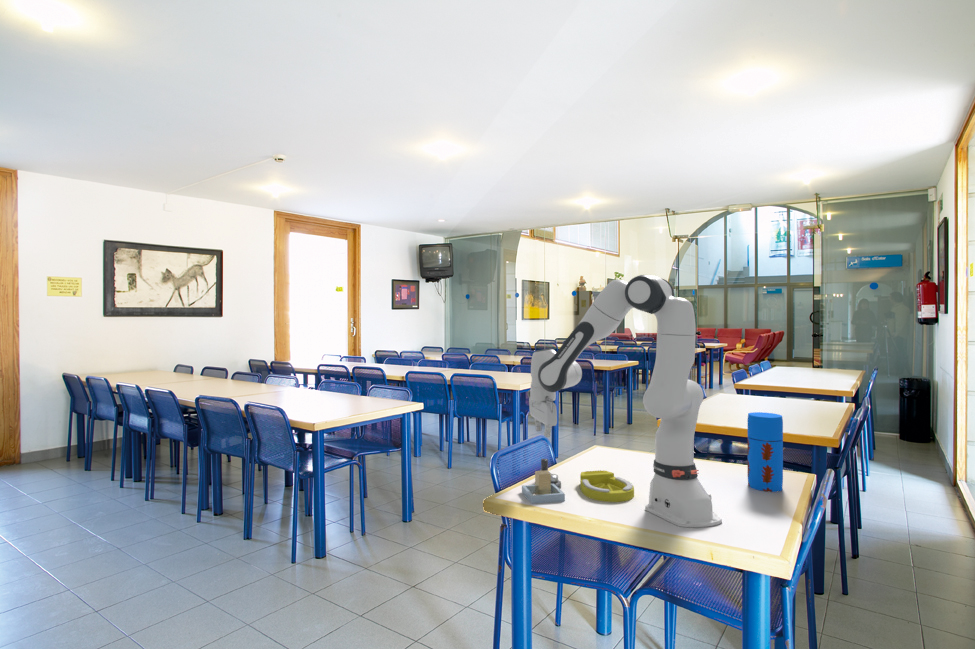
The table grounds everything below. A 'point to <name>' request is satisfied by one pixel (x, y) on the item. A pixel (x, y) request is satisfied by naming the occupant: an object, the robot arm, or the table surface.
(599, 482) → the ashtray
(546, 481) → the block
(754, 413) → the thermos
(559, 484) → the plinth
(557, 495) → the tray
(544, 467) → the crank
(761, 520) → the table surface
